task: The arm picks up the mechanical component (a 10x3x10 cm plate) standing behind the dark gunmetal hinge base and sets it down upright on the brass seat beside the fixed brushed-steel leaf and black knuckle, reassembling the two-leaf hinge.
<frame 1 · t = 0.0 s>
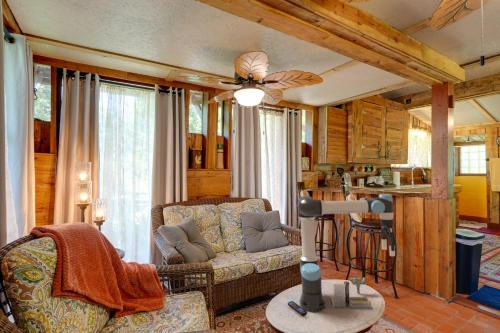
hand: (388, 252, 170), 28 cm above the table, fingers open, 13 cm apart
hinge base: (350, 303, 164), on the table
mechanical component: (358, 293, 177), on the table
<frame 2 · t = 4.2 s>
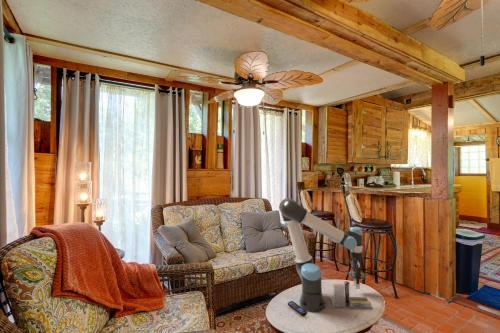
hand: (356, 287, 177), 4 cm above the table, fingers closed on mechanical component, 3 cm apart
mechanical component: (356, 288, 177), point 3 cm above the table, touching gripper
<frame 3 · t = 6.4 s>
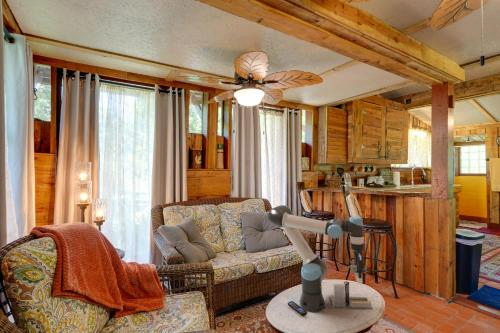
hand: (359, 281, 164), 13 cm above the table, fingers closed on mechanical component, 3 cm apart
mechanical component: (359, 282, 164), point 13 cm above the table, touching gripper
when the fingers open (2 cm above the table, at t = 8.5 s): mechanical component stays where it is, resting on hinge base.
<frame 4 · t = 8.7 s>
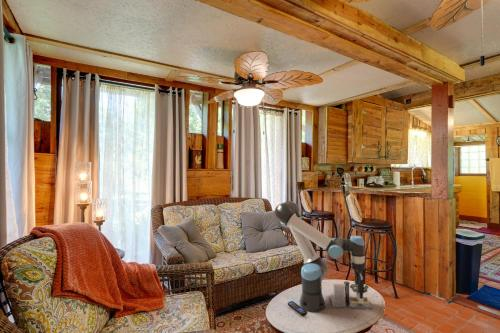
hand: (360, 301, 163), 2 cm above the table, fingers open, 4 cm apart
mechanical component: (359, 302, 163), point 1 cm above the table, touching hinge base
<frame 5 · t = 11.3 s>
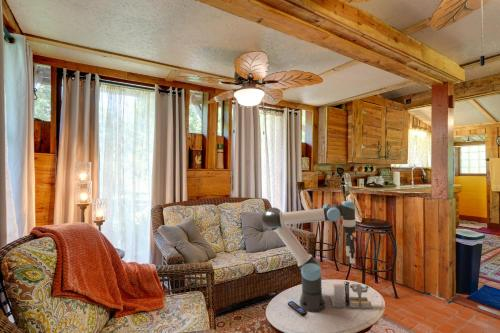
hand: (350, 259, 171), 24 cm above the table, fingers open, 13 cm apart
nothing on the table moved.
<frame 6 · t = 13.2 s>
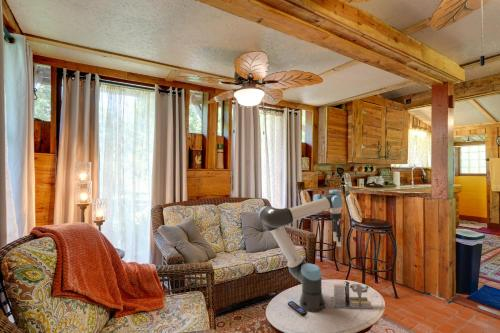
hand: (337, 243, 185), 31 cm above the table, fingers open, 13 cm apart
nothing on the table moved.
at the end: mechanical component 0.0 cm from the target spot on the hinge base, point 0.9 cm above the hinge base's base; mechanical component tilted 0°; the gripper is holding nothing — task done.
